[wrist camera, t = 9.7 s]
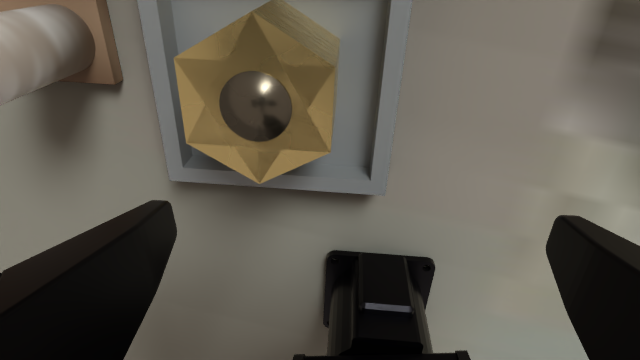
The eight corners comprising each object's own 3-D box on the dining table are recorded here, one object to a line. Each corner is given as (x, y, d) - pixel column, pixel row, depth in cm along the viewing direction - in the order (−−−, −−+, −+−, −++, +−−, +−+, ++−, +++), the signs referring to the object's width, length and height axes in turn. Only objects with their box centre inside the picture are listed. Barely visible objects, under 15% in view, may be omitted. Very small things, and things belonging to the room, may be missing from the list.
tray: (382, 176, 21) (385, 195, 20) (184, 162, 22) (169, 180, 20) (413, -62, 16) (421, -64, 14) (147, -72, 16) (123, -75, 15)
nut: (334, 137, 20) (328, 189, 15) (226, 130, 20) (190, 180, 16) (342, -1, 17) (337, 15, 12) (214, -7, 17) (165, 7, 12)
